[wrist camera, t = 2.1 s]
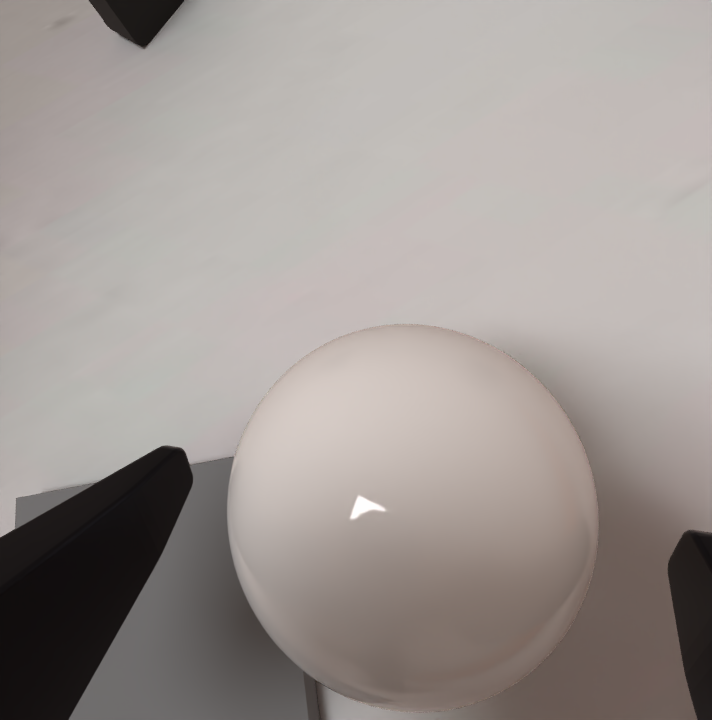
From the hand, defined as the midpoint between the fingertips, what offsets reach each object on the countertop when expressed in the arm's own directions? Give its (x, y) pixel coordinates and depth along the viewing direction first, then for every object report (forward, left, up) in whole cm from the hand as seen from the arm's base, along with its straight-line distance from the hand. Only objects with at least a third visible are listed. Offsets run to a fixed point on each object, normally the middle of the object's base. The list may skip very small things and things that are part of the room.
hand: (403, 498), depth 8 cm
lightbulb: (0, 0, -8) cm, 8 cm away
